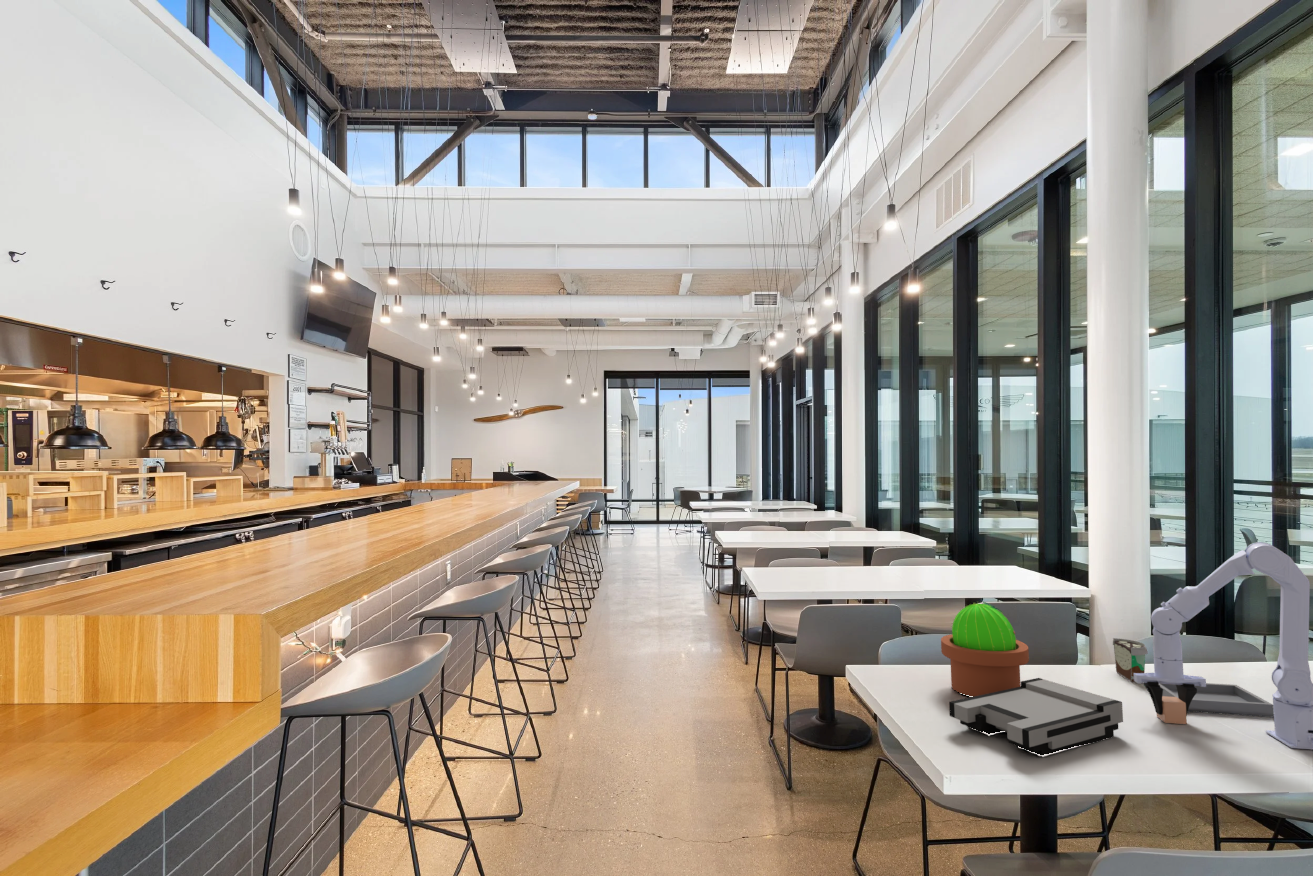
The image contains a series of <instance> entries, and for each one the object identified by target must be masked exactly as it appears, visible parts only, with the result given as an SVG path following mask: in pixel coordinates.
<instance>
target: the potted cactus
mask: <svg viewBox="0 0 1313 876" xmlns="http://www.w3.org/2000/svg"><path fill="white" fill-rule="evenodd" d="M1003 613H1004V611H1002V610H1001V609H999V608H997V607H996V606H994V605H993V604H990V603H988V602H986V601H982V603H979V602H977V603H975V602H973V604H969V605H966V606H964V607H963V608H961V609H959V612H958V613H957V614H956V615H955V616H954V619H953V617H952V618H951V620H953V621H952V623H951V624H952V625H950V627H951V632H952V633H951V634H947V635H944V636H942V637H941V638H940V652H941V654H942V655H943V656H944V657H946V658H947V659H950V680H951V681H950V684H951V688H952V689H953V691H954V690H956V691H957V692H959V693H962V694H965V695H969V696H973V697H974V696H979V695H983V694H988V693H993V692H997V691H1002V690H1007V689H1011V688H1016V687H1021V668H1020V667H1021V666H1024V665H1026V664H1027V665H1028V663H1029V661H1030V655H1029V654H1030V653H1029V646H1028V644H1026V643H1024V642H1022V641H1021V640H1019V639H1017V637H1016V634H1017V633H1016V631H1015V630H1014V627H1013V626H1012V624H1011V622H1010V621H1009V619H1008V617H1007V616H1005V615H1004V614H1003ZM956 691H955V692H956ZM957 692H956V693H957ZM959 693H958V694H959Z"/></svg>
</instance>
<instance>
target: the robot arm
mask: <svg viewBox="0 0 1313 876" xmlns="http://www.w3.org/2000/svg"><path fill="white" fill-rule="evenodd" d="M1253 570H1256V571H1257V572H1260V573H1261V574H1264V575H1266V576H1268V577H1270V578H1271V579H1272V580H1273V581H1274V582H1276V583H1277V584H1279V585H1280V606H1279V607H1280V609H1279V611H1280V612H1279V613H1280V614H1279V650H1278V653H1279V654H1278V657H1277V665H1276V667H1275V668H1274V670H1273V671H1272V673H1271V681H1272V683H1273V684H1274V686H1275V687H1276V688H1277V690H1276V691H1275V692H1274V693H1272V704H1273V711H1274V717H1273V722H1274V723H1273V724H1274V730H1271V729H1269V730H1268V729H1265V733H1266V734H1268V735H1269V736H1271V737H1273V738H1274V739H1276V740H1277V741H1279V742H1280V743H1283V744H1284V745H1286V746H1287V747H1289V748H1291V749H1299V750H1300V749H1301V750H1313V682H1312V678H1311V669H1310V668H1311V667H1310V663H1309V640H1310V637H1309V635H1310V598H1311V597H1310V596H1311V595H1310V593H1311V592H1310V590H1311V589H1310V587H1311V586H1310V585H1311V582H1310V580H1309V578H1308V577H1307V576H1306V575H1305V574H1304V572H1303V571H1302V570H1301V569H1300V567H1299V566H1298V565H1297V563H1296V562H1295V561H1294V560H1293V558H1292V557H1291V556H1290V555H1288V554H1286V552H1285V553H1284V551H1282V550H1280V549H1279V548H1277V547H1276V546H1274V545H1272V544H1271V543H1268V542H1264V541H1257V542H1253V543H1250V544H1249V545H1248V546H1247V547H1245V550H1244V549H1242V550H1239V551H1237V552H1236V553H1234V554H1233V555H1232V556H1231V557H1229V558H1228V559H1227V560H1226V561H1224V562H1223V563H1222V564H1221V565H1219V567H1217V568H1216V569H1215V570H1214V571H1213V572H1211V574H1209V575H1208V576H1207V577H1205V578H1204V579H1203V580H1202V581H1200V583H1198V585H1195V586H1192V585H1191V586H1189V585H1188V586H1185V587H1184V588H1182V587H1179V588H1177V589H1176V594H1175V595H1173V596H1172V597H1171V598H1169V600H1168V601H1166V602H1165V601H1162V602H1161V603H1160V606H1161V607H1158V608H1155V609H1154V610H1153V611H1152V613H1151V615H1150V620H1151V624H1152V627H1153V629H1152V634H1153V635H1152V649H1153V668H1154V671H1153V672H1145V673H1134V681H1135V682H1134V683H1136V684H1143V686H1144V687H1145V689H1146V690H1147V693H1148V694H1149V696H1150V698H1151V700H1152V704H1153V707H1154V710H1155V713H1156V714H1157V713H1158V714H1159V715H1162V714H1163V707H1162V695H1163V689H1162V688H1161V687H1160V685H1159V684H1176V687H1177V692H1178V698H1179V699H1180V700H1182V701H1183V702H1185V703H1186V717H1188V709H1189V706H1190V703H1191V701H1192V699H1193V697H1194V696H1195V695H1196V693H1197V688H1195V687H1194V686H1201V687H1206V683H1207V680H1206V679H1207V678H1204V677H1202V676H1200V675H1199V676H1196V675H1189V674H1187V675H1186V674H1184V660H1183V659H1184V658H1183V644H1182V639H1181V633H1180V632H1181V630H1182V627H1183V623H1186V622H1187V623H1188V622H1189V621H1190V620H1191V619H1193V618H1194V617H1195V616H1196V615H1198V614H1199V613H1200V612H1202V610H1204V609H1206V608H1207V607H1208V606H1209V605H1210V600H1209V599H1210V598H1209V597H1210V596H1212V595H1213V594H1215V593H1216V592H1218V591H1220V589H1221V588H1223V587H1225V586H1226V585H1227V584H1229V583H1230V582H1232V581H1233V580H1234V579H1236V578H1237V577H1240V576H1250V575H1255V572H1254V571H1253Z"/></svg>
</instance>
